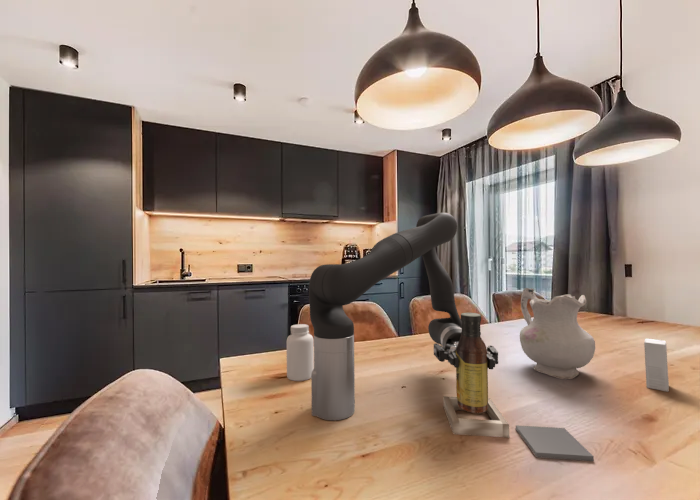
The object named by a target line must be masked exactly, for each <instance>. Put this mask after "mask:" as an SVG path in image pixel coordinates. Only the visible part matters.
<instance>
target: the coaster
mask: <svg viewBox="0 0 700 500" xmlns="http://www.w3.org/2000/svg"><path fill="white" fill-rule="evenodd" d="M515 430H516V432H517V434H518V435H520V437H521V438H522V440H523V441H524V443H525V444H526V445H527V446H528V448H529V449H530V451H531V453H533V455H534V456H535V457H536V458H541V459H542V458H544V459H545V458H546V459H556V460H558V459H559V460H561V459H562V460H571V461H586V462H594V461H595V460H594V459H595V458H594V455H593V454H592V453H591V452H590V451H589V450H588V449H586V448H585V446H583V444H581V442H580V441H578V439H577V438H576V437H574V436H573V435H572V434H571V433H570V432H569V431H568V430H567V429H566V428H565V427H555V426H554V427H553V426H551V427H550V426H537V425H536V426H534V425H519V424H518V425H515Z"/></svg>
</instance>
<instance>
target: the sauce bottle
mask: <svg viewBox="0 0 700 500" xmlns="http://www.w3.org/2000/svg"><path fill="white" fill-rule="evenodd" d="M460 319H461V321H462V331H461V333H462V334H461V337H460V340H459V343H458V345H457V348H456V355H457V356H458V359H459V367H458V368H455V379H456V381H455V383H456V384H455V385H456V387H455V388H456V397H457V401H458V405H459V407H460V408H461V409H463V410H465V411H464V412H468V413H472V414H482V413H486V412H485V411H486V410H487V408H488V406H487V403H488V398H489V382H488V381H489V380H488V379H489V377H488V376H489V373H488V371H489V370H488V369H489V368H488V364H487V346H486V343H485V341H484V339H482V337H481V335H482V333H481V322H482V314H480V313H476V312H462V313H461V314H460Z"/></svg>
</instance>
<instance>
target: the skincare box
mask: <svg viewBox="0 0 700 500" xmlns="http://www.w3.org/2000/svg"><path fill="white" fill-rule="evenodd" d="M643 343H644V344H643V345H644V362H645V363H644V364H645V380H646V383H645V385H646V388H648V389H653V390H658V391H662V392H665V393H666V392H667V393H668V392H670V391H669V389H670V383H669V368H668V349H667V348H668V347H667V341H666V340H664V339H663V340H662V339H653V338H644V342H643Z"/></svg>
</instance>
